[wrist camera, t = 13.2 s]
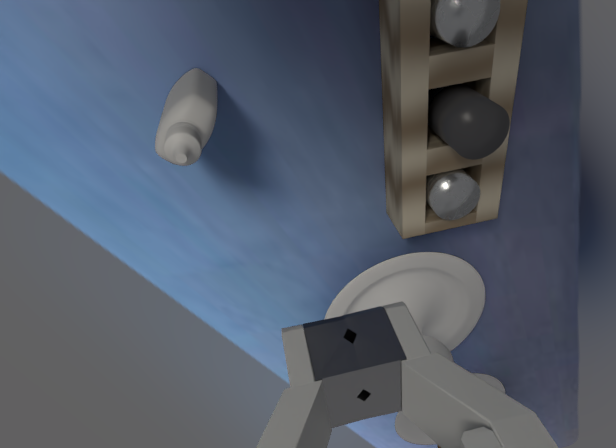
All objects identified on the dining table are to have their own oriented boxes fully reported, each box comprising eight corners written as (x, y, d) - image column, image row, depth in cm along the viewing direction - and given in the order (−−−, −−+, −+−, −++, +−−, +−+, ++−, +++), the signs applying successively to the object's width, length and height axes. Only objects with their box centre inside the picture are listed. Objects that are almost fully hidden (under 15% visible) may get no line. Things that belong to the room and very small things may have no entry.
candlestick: (257, 313, 53) (290, 607, 30) (439, 205, 48) (641, 449, 26) (339, 389, 64) (408, 645, 41) (492, 307, 60) (665, 540, 37)
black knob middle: (428, 89, 36) (455, 109, 32) (480, 79, 37) (513, 97, 33) (426, 140, 39) (451, 164, 35) (475, 130, 39) (505, 153, 35)
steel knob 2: (413, 159, 44) (434, 183, 39) (457, 150, 44) (482, 173, 40) (413, 198, 46) (432, 224, 42) (454, 189, 46) (478, 214, 42)
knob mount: (377, -42, 34) (399, -38, 30) (498, -63, 35) (536, -62, 31) (386, 212, 48) (402, 239, 44) (473, 194, 48) (497, 218, 44)
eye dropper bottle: (231, 107, 38) (237, 167, 29) (175, 135, 39) (161, 203, 29) (206, 61, 36) (202, 108, 26) (146, 90, 36) (120, 148, 27)
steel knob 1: (414, -22, 34) (441, -16, 30) (469, -32, 35) (503, -27, 31) (414, 39, 37) (439, 52, 33) (465, 30, 37) (496, 41, 33)
